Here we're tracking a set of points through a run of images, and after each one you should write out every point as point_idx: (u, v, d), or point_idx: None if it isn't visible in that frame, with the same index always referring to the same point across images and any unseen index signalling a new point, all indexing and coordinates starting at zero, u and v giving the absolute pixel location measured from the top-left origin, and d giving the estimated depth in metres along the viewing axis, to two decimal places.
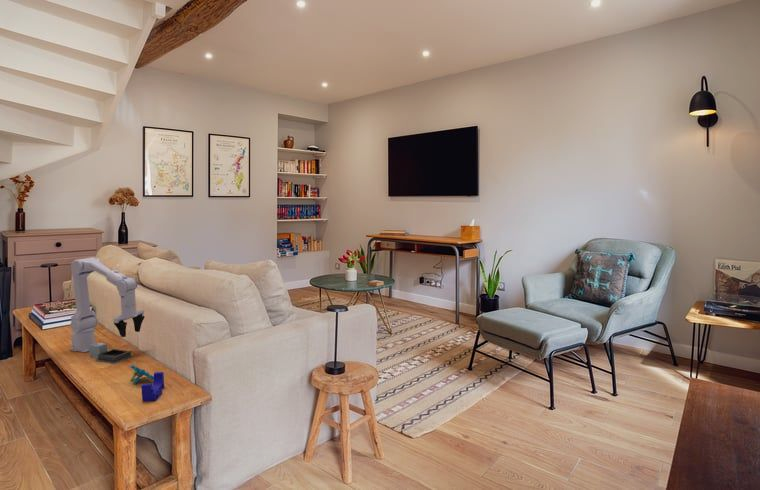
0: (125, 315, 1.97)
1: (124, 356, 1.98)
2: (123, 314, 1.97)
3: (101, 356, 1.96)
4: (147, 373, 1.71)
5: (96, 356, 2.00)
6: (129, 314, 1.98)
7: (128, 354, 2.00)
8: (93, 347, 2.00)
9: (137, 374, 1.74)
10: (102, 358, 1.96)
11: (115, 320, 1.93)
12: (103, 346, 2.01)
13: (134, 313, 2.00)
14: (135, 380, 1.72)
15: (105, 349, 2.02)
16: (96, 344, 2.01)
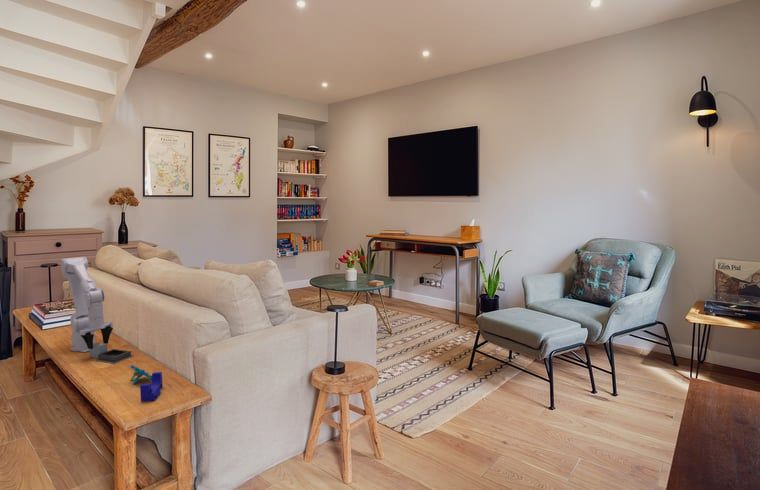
0: (92, 327, 1.98)
1: (124, 356, 1.98)
2: (90, 326, 1.98)
3: (101, 356, 1.96)
4: (146, 373, 1.71)
5: (96, 356, 2.00)
6: (96, 326, 1.98)
7: (128, 354, 2.00)
8: (93, 347, 2.00)
9: (137, 374, 1.74)
10: (102, 358, 1.96)
11: (81, 332, 1.94)
12: (103, 346, 2.01)
13: (101, 325, 2.00)
14: (135, 380, 1.72)
15: (105, 349, 2.02)
16: (96, 344, 2.01)
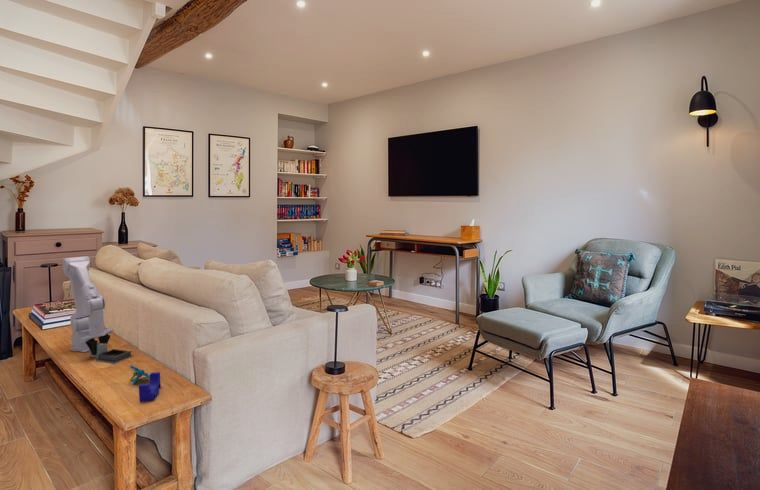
0: (93, 334, 1.98)
1: (124, 356, 1.98)
2: (91, 333, 1.98)
3: (101, 356, 1.96)
4: (146, 373, 1.71)
5: (96, 356, 2.00)
6: (97, 333, 1.98)
7: (128, 354, 2.00)
8: None
9: (136, 374, 1.73)
10: (102, 358, 1.96)
11: (82, 340, 1.94)
12: (103, 346, 2.01)
13: (102, 332, 2.00)
14: (134, 380, 1.72)
15: (105, 349, 2.02)
16: None
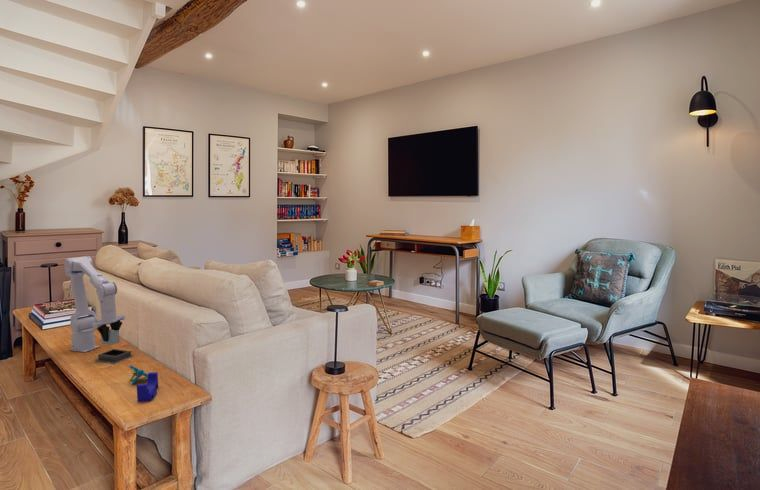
0: (105, 320, 1.95)
1: (124, 356, 1.98)
2: (103, 319, 1.95)
3: (101, 356, 1.96)
4: (145, 374, 1.71)
5: (108, 343, 1.97)
6: (109, 319, 1.95)
7: (128, 354, 2.00)
8: None
9: (136, 374, 1.73)
10: (102, 358, 1.96)
11: (94, 325, 1.91)
12: (115, 332, 1.97)
13: (114, 318, 1.97)
14: (133, 380, 1.72)
15: (117, 336, 1.98)
16: None
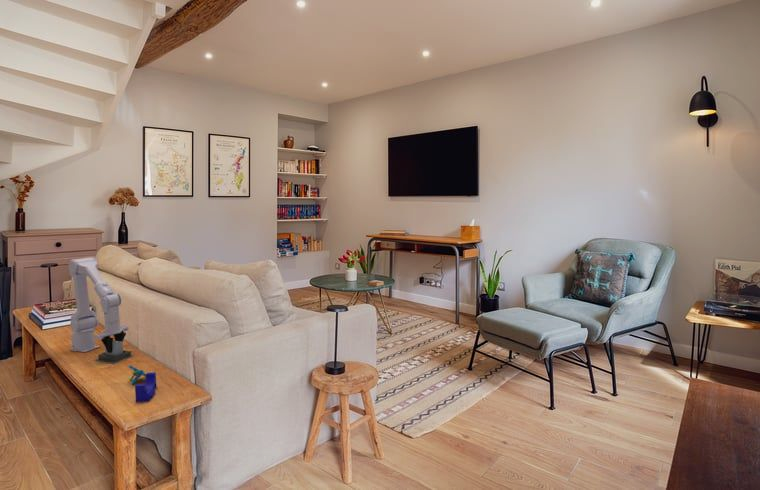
0: (108, 332, 1.95)
1: (124, 356, 1.98)
2: (106, 330, 1.95)
3: (101, 356, 1.96)
4: (144, 374, 1.70)
5: (111, 354, 1.97)
6: (113, 330, 1.95)
7: (128, 354, 2.00)
8: None
9: (135, 374, 1.73)
10: (102, 358, 1.96)
11: (98, 337, 1.91)
12: (118, 344, 1.98)
13: (118, 329, 1.97)
14: (133, 380, 1.72)
15: (120, 347, 1.99)
16: None
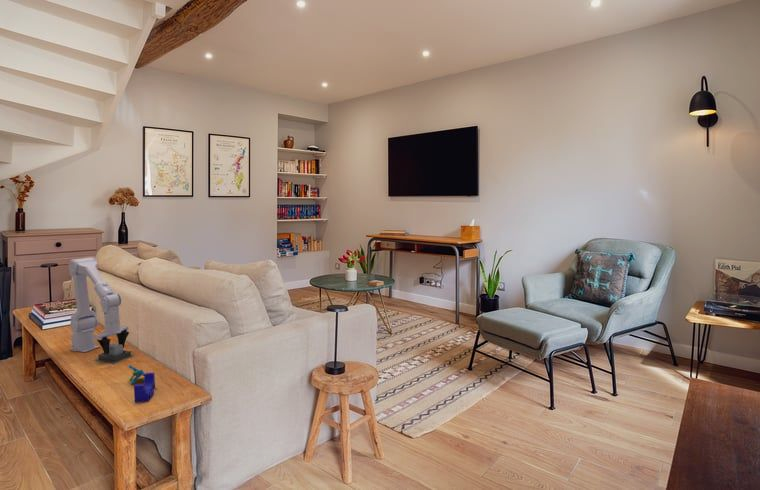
0: (108, 331, 1.95)
1: (124, 356, 1.98)
2: (106, 330, 1.95)
3: (101, 356, 1.96)
4: (144, 374, 1.70)
5: None
6: (113, 330, 1.95)
7: (128, 354, 2.00)
8: (109, 348, 1.97)
9: (135, 374, 1.73)
10: (102, 358, 1.96)
11: (98, 337, 1.91)
12: (119, 347, 1.98)
13: (118, 329, 1.97)
14: (133, 380, 1.72)
15: (121, 350, 1.99)
16: (112, 345, 1.98)
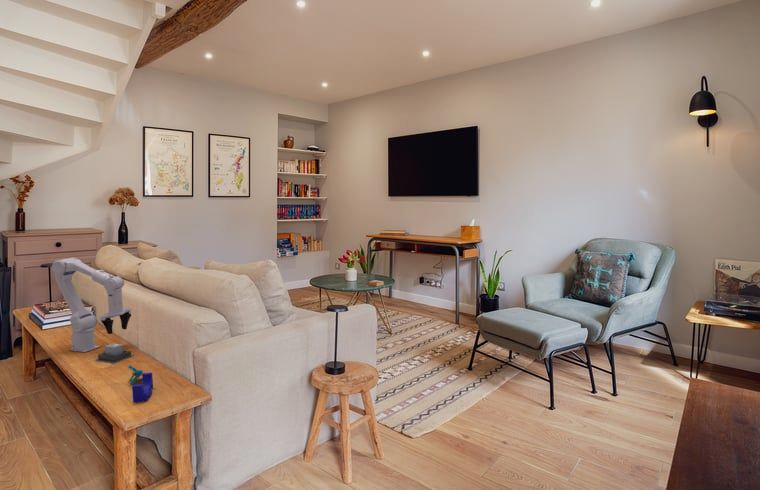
0: (112, 313, 2.04)
1: (124, 356, 1.98)
2: (110, 312, 2.04)
3: (101, 356, 1.96)
4: None
5: None
6: (116, 312, 2.04)
7: (128, 354, 2.00)
8: (109, 348, 1.97)
9: (134, 374, 1.73)
10: (102, 358, 1.96)
11: (102, 317, 2.00)
12: (119, 347, 1.98)
13: (121, 311, 2.06)
14: (132, 380, 1.72)
15: (121, 350, 1.99)
16: (112, 345, 1.98)
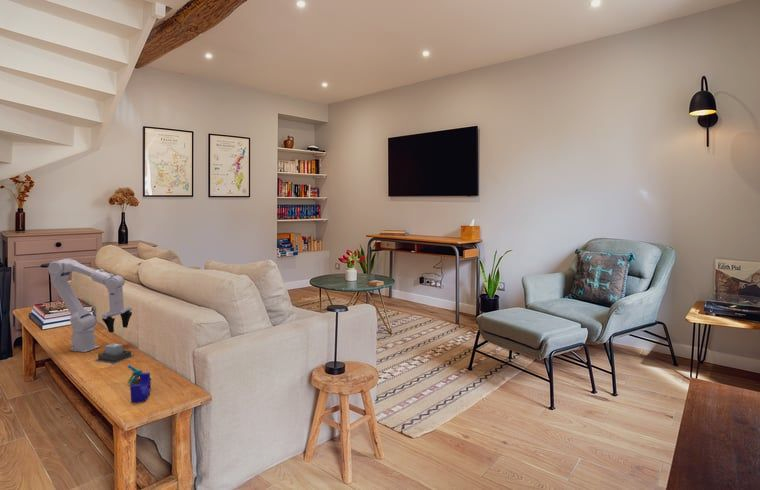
0: (113, 311, 2.06)
1: (124, 356, 1.98)
2: (111, 310, 2.06)
3: (101, 356, 1.96)
4: None
5: None
6: (117, 310, 2.07)
7: (128, 354, 2.00)
8: (109, 348, 1.97)
9: (134, 374, 1.73)
10: (102, 358, 1.96)
11: (103, 316, 2.02)
12: (119, 347, 1.98)
13: (122, 309, 2.08)
14: None
15: (121, 350, 1.99)
16: (112, 345, 1.98)
